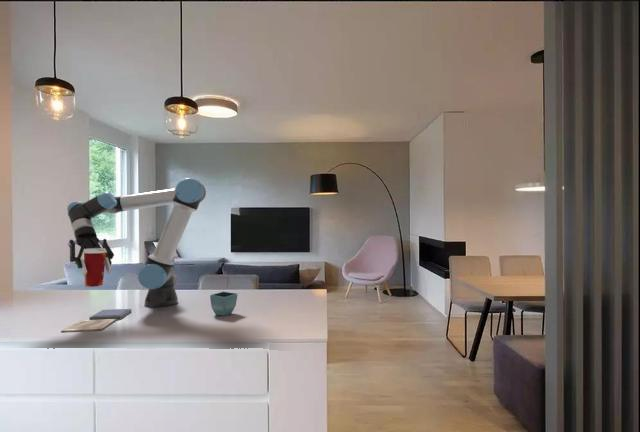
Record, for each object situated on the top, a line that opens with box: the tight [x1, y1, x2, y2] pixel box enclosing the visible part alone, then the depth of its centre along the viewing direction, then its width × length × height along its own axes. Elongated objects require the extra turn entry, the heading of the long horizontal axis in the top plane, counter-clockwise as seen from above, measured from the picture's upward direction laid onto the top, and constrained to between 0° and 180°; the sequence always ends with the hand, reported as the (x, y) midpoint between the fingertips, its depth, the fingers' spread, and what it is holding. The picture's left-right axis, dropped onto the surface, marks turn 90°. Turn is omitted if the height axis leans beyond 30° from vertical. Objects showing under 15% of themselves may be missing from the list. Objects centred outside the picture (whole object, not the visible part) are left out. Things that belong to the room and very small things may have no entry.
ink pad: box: [88, 308, 132, 320], centre depth 148 cm, size 12×12×2 cm
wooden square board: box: [61, 319, 119, 333], centre depth 134 cm, size 14×14×1 cm
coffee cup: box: [83, 247, 107, 288], centre depth 140 cm, size 8×8×15 cm
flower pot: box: [209, 291, 238, 317], centre depth 152 cm, size 9×9×9 cm
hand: (97, 272), depth 137 cm, fingers closed on coffee cup, 8 cm apart
